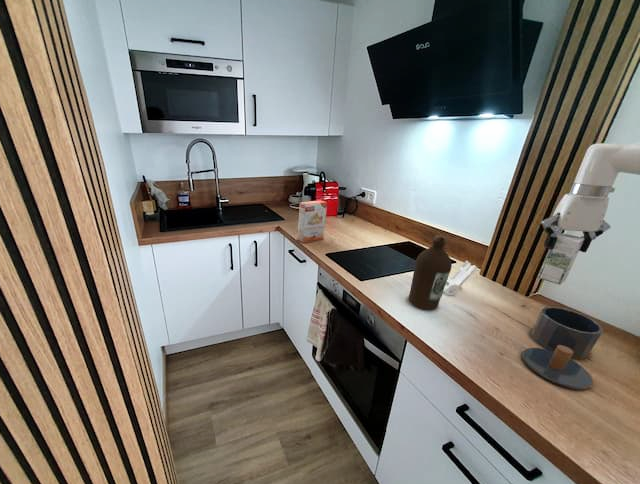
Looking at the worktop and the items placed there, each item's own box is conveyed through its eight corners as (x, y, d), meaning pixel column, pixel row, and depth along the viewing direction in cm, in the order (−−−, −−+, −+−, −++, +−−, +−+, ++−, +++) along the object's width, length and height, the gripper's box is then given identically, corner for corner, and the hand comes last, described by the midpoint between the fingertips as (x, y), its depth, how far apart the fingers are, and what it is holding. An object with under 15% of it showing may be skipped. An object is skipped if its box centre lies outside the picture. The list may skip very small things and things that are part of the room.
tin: (567, 333, 87) (580, 309, 84) (600, 362, 76) (616, 337, 73) (522, 327, 89) (532, 304, 86) (547, 354, 78) (560, 329, 75)
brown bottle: (400, 299, 102) (415, 233, 92) (419, 292, 107) (436, 229, 97) (426, 314, 94) (445, 244, 84) (446, 307, 98) (467, 239, 89)
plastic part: (433, 285, 113) (439, 258, 108) (455, 284, 114) (463, 257, 109) (445, 295, 106) (453, 267, 101) (469, 293, 107) (478, 266, 102)
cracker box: (303, 243, 151) (305, 204, 142) (296, 239, 155) (299, 202, 147) (324, 239, 157) (327, 202, 149) (317, 236, 162) (320, 199, 154)
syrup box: (566, 280, 89) (586, 237, 84) (560, 285, 86) (580, 240, 81) (543, 273, 94) (560, 231, 88) (536, 278, 91) (554, 235, 85)
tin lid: (565, 355, 78) (576, 335, 75) (606, 396, 66) (620, 374, 63) (511, 347, 80) (519, 328, 78) (540, 385, 68) (552, 364, 66)
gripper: (615, 190, 81) (588, 247, 88) (545, 187, 84) (524, 242, 91) (640, 195, 74) (608, 256, 81) (562, 191, 77) (538, 251, 84)
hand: (564, 249), depth 86 cm, fingers closed on syrup box, 7 cm apart
